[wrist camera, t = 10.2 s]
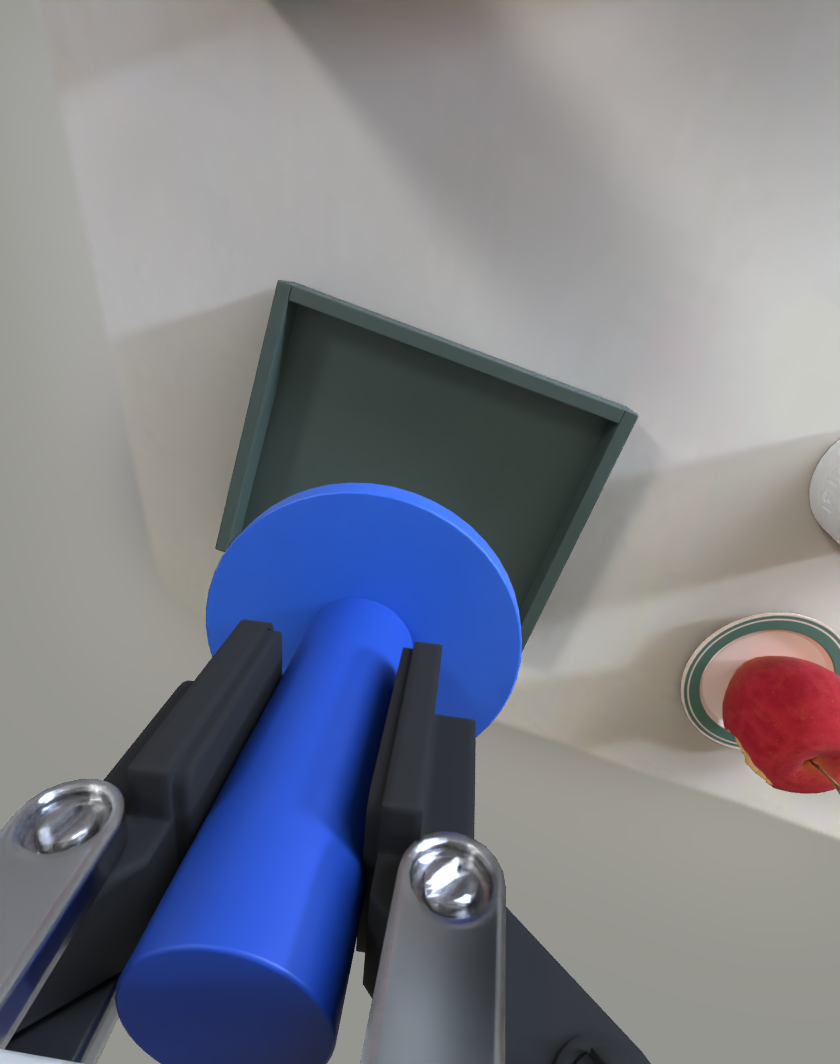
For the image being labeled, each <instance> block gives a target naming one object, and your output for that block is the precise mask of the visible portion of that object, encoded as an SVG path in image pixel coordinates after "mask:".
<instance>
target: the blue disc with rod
mask: <svg viewBox="0 0 840 1064" xmlns="http://www.w3.org/2000/svg"><path fill="white" fill-rule="evenodd" d="M244 619H246V620H253V621H261V622H269V623H272V624H273V628H274V631H280V632H281V633H282V677H281V679H280V681H279V683H278V685H277V687H276V689H275V690H274V692H273V694H272V696H271V698H270V700H269V702H268V703H267V705H266V707H265V709H264V711H263V713H262V714H261V716H260V718H259V720H258V722H257V724H256V726H255V727H254V729H253V731H252V733H251V735H250V737H249V738H248V740H247V742H246V744H245V746H244V748H243V750H242V751H241V753H240V755H239V757H238V759H237V761H236V763H235V764H234V766H233V768H232V770H231V772H230V774H229V775H228V777H227V779H226V781H225V783H224V785H223V787H222V788H221V790H220V792H219V794H218V796H217V798H216V799H215V801H214V803H213V805H212V807H211V809H210V811H209V812H208V814H207V816H206V818H205V820H204V822H203V823H202V825H201V827H200V829H199V831H198V833H197V835H196V836H195V838H194V840H193V842H192V844H191V846H190V848H189V849H188V851H187V853H186V855H185V857H184V859H183V860H182V862H181V864H180V866H179V868H178V870H177V872H176V873H175V875H174V877H173V879H172V881H171V883H170V884H169V886H168V888H167V890H166V892H165V894H164V896H163V897H162V899H161V901H160V903H159V905H158V907H157V909H156V910H155V912H154V914H153V916H152V918H151V920H150V921H149V923H148V925H147V927H146V929H145V931H144V933H143V934H142V936H141V938H140V940H139V942H138V944H137V945H136V947H135V949H134V951H133V953H132V955H131V957H130V958H129V960H128V962H127V964H126V966H125V968H124V970H123V971H122V973H121V975H120V977H119V980H118V983H117V987H116V995H115V1001H116V1009H117V1012H118V1016H119V1018H120V1020H121V1023H122V1025H123V1026H124V1028H125V1029H126V1031H127V1033H128V1034H129V1035H130V1037H131V1038H132V1039H133V1040H134V1041H135V1043H136V1044H137V1045H138V1046H139V1047H141V1048H142V1049H143V1050H144V1051H145V1052H146V1053H147V1054H148V1055H150V1056H151V1057H152V1058H154V1059H155V1060H156V1061H158V1062H159V1063H161V1064H327V1063H328V1061H329V1059H330V1058H331V1056H332V1053H333V1051H334V1048H335V1044H336V1039H337V1035H338V1029H339V1024H340V1019H341V1014H342V1009H343V1004H344V999H345V994H346V989H347V984H348V979H349V974H350V969H351V964H352V959H353V953H354V948H355V943H356V938H357V933H358V928H359V923H360V918H361V913H362V908H363V903H364V898H365V892H366V879H365V874H364V870H363V867H362V863H363V849H364V835H365V821H366V812H367V804H368V798H369V792H370V787H371V783H372V778H373V774H374V770H375V765H376V761H377V757H378V753H379V748H380V744H381V740H382V735H383V731H384V727H385V722H386V718H387V714H388V710H389V705H390V701H391V697H392V692H393V688H394V684H395V679H396V675H397V671H398V667H399V662H400V658H401V654H402V650H403V647H404V648H411V649H413V648H414V644H415V641H416V642H424V643H431V644H439V645H443V646H442V655H441V663H440V672H439V681H438V689H437V698H436V707H435V714H437V715H445V716H452V717H459V718H466V719H474V720H475V722H476V737H477V736H478V735H479V734H480V733H482V731H484V730H485V729H486V728H487V727H488V726H489V725H490V724H491V723H492V721H493V720H494V719H495V718H496V716H497V715H498V714H499V713H500V711H501V710H502V708H503V706H504V705H505V703H506V701H507V700H508V698H509V696H510V694H511V692H512V689H513V687H514V684H515V682H516V679H517V675H518V671H519V667H520V662H521V651H522V636H521V623H520V615H519V609H518V605H517V600H516V596H515V592H514V590H513V587H512V585H511V582H510V579H509V577H508V574H507V573H506V571H505V569H504V567H503V566H502V564H501V562H500V560H499V558H498V557H497V556H496V554H495V553H494V552H493V550H492V549H491V548H490V546H489V545H488V544H487V542H486V541H485V540H484V539H483V538H482V537H481V536H480V535H479V534H478V533H477V532H476V531H475V530H474V529H473V528H472V527H471V526H470V525H469V524H467V523H466V522H465V521H463V520H462V519H461V518H460V517H458V516H457V515H456V514H455V513H453V512H451V511H450V510H448V509H446V508H445V507H443V506H441V505H439V504H438V503H436V502H434V501H432V500H430V499H427V498H425V497H423V496H420V495H418V494H416V493H413V492H409V491H406V490H403V489H399V488H396V487H392V486H385V485H379V484H373V483H340V484H329V485H325V486H320V487H316V488H312V489H308V490H305V491H302V492H300V493H297V494H295V495H292V496H289V497H287V498H286V499H284V500H282V501H280V502H278V503H277V504H275V505H273V506H271V507H270V508H269V509H267V510H266V511H265V512H264V513H262V514H261V515H260V516H258V517H257V518H256V519H255V520H254V521H253V522H252V523H250V524H249V525H248V526H247V527H246V528H245V529H244V530H243V531H242V532H241V533H240V534H239V535H238V536H237V537H236V539H235V540H234V541H233V542H232V543H231V545H230V546H229V548H228V549H227V550H226V552H225V553H224V555H223V556H222V558H221V560H220V562H219V564H218V566H217V568H216V570H215V572H214V575H213V578H212V582H211V585H210V588H209V593H208V599H207V606H206V629H207V636H208V644H209V647H210V651H211V654H212V657H213V656H214V655H215V653H216V652H217V651H218V649H219V648H220V647H221V646H222V644H223V643H224V642H225V640H226V639H227V638H228V637H229V635H230V634H231V633H232V631H233V630H234V629H235V627H236V626H237V625H238V624H239V622H240V621H241V620H244Z"/></svg>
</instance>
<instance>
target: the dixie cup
mask: <svg viewBox="0 0 840 1064" xmlns="http://www.w3.org/2000/svg"><path fill="white" fill-rule="evenodd" d="M809 502H810V507H811V510H812V513H813V515H814V517H815V519H816V521H817V522H818V524H819V525H820V526H821V527H822V528H823V529H824V530H825V531H826V532H827V533H828V534H829V535H830V536H831V537H832V538H833V539H834V540H835V541H836V542H837V543H838V544H840V439H839V440H838V441H837V442H836V443H835V444H834V445H833V446H832V447H831V448H830V449H829V450H828V451H827V452H826V453H825V454H824V456H823V457H822V459H821V460H820V462H819V463H818V465H817V467H816V469H815V471H814V473H813V476H812V479H811V483H810V489H809Z"/></svg>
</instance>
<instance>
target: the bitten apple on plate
mask: <svg viewBox="0 0 840 1064" xmlns="http://www.w3.org/2000/svg"><path fill="white" fill-rule="evenodd" d="M681 699H682V703H683V707H684V710H685V712H686V714H687V716H688V718H689V719H690V721H691V722H692V724H693V725H694V726H695V727H696V728H697V729H698V730H699V731H700V732H701V733H703V734H704V735H705V736H706V737H708V738H710V739H711V740H713V741H715V742H717V743H720V744H722V745H725V746H728V747H731V748H736V749H741V751H742V753H743V754H744V756H745V763H746V764H747V765H748V766H749V767H750V768H751V769H752V770H753V771H754V772H755V773H756V774H758V775H759V776H760V777H762V778H763V779H765V780H766V783H768V784H769V785H771V786H772V787H773V788H776V789H780V790H784V791H788V792H795V793H821V792H826V791H830V790H834V789H837V791H838V792H839V794H840V636H839V635H838V634H837V633H836V632H835V631H833V630H832V629H831V628H829V627H828V626H826V625H825V624H823V623H821V622H819V621H817V620H815V619H813V618H810V617H807V616H803V615H799V614H793V613H782V612H776V613H764V614H757V615H753V616H749V617H745V618H742V619H739V620H737V621H734V622H732V623H730V624H728V625H726V626H724V627H722V628H721V629H719V630H717V631H716V632H714V633H713V634H712V635H710V636H709V637H708V638H707V639H705V640H704V641H703V642H702V644H701V645H700V646H699V647H698V648H697V649H696V650H695V652H694V653H693V654H692V656H691V657H690V659H689V661H688V662H687V664H686V667H685V669H684V672H683V676H682V680H681Z"/></svg>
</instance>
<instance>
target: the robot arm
mask: <svg viewBox="0 0 840 1064" xmlns="http://www.w3.org/2000/svg"><path fill="white" fill-rule="evenodd" d="M442 646H443V645H439V644H431V643H424V642H416V641H415V644H414V648H413V649H411V648H404V647H403V650H402V654H401V658H400V662H399V667H398V671H397V675H396V679H395V684H394V688H393V692H392V697H391V701H390V705H389V710H388V714H387V718H386V722H385V727H384V731H383V735H382V740H381V744H380V748H379V753H378V757H377V761H376V765H375V770H374V774H373V778H372V783H371V787H370V792H369V798H368V804H367V812H366V821H365V835H364V849H363V863H362V867H363V870H364V874H365V879H366V892H365V898H364V903H363V908H362V913H361V918H360V923H359V928H358V933H357V946H356V951H359V952H365V963H364V976H363V985H364V986H365V988H366V990H367V991H368V993H369V994H370V996H371V997H372V1004H371V1009H370V1014H369V1019H368V1024H367V1030H366V1035H365V1039H364V1045H363V1049H362V1054H361V1060H360V1064H651V1063H650V1062H649V1061H648V1060H647V1058H646V1057H645V1055H644V1054H643V1053H642V1051H641V1050H640V1049H639V1048H638V1047H637V1046H636V1045H635V1044H634V1043H633V1042H632V1041H631V1040H630V1039H629V1038H628V1036H627V1035H626V1034H625V1033H624V1032H623V1031H622V1030H621V1029H620V1028H619V1027H618V1026H617V1025H616V1024H615V1023H614V1022H613V1021H612V1020H611V1018H610V1017H609V1016H608V1015H607V1014H606V1013H605V1012H604V1011H603V1010H602V1009H601V1008H600V1007H599V1006H598V1004H597V1003H596V1002H595V1001H594V1000H593V999H592V998H591V997H590V996H589V995H588V994H587V993H586V992H585V991H584V990H583V989H582V987H581V986H580V985H579V984H578V983H577V982H576V981H575V980H574V979H573V978H572V977H571V976H570V975H569V974H568V972H567V971H566V970H565V969H564V968H563V967H562V966H561V965H560V964H559V963H558V962H557V961H556V960H555V959H554V958H553V956H552V955H550V953H549V952H548V951H547V950H546V949H545V948H544V947H543V946H542V945H541V944H540V943H539V941H537V939H536V938H535V937H534V936H533V935H532V934H531V933H530V932H529V931H528V930H527V929H526V928H525V927H524V926H523V924H522V923H521V922H520V921H519V920H518V919H517V918H516V917H515V916H514V915H513V914H512V913H511V912H510V911H509V910H508V908H507V907H506V886H505V880H504V874H503V871H502V869H501V867H500V865H499V863H498V861H497V859H496V857H495V856H494V855H493V854H492V853H491V852H490V851H489V850H488V849H487V848H486V846H484V845H483V844H481V843H480V842H478V841H476V840H475V839H474V806H475V738H476V722H475V720H474V719H466V718H459V717H452V716H445V715H437V714H435V707H436V698H437V689H438V681H439V672H440V663H441V655H442ZM281 677H282V633H281V632H280V631H274V628H273V624H272V623H269V622H261V621H253V620H246V619H244V620H241V621H240V622H239V624H238V625H237V626H236V627H235V629H234V630H233V631H232V633H231V634H230V635H229V637H228V638H227V639H226V640H225V642H224V643H223V644H222V646H221V647H220V648H219V649H218V651H217V652H216V653H215V655H214V656H213V657H212V659H211V660H210V661H209V662H208V664H207V665H206V667H205V668H204V669H203V670H202V672H201V673H200V674H199V675H198V677H197V678H196V679H195V681H185V682H183V683H182V684H181V685H180V686H179V687H178V688H177V689H176V690H175V692H174V693H173V694H172V695H171V697H170V698H169V699H168V701H167V702H166V703H165V704H164V706H163V707H162V708H161V709H160V710H159V712H158V713H157V714H156V715H155V717H154V718H153V719H152V720H151V722H150V723H149V724H148V725H147V727H146V728H145V729H144V730H143V732H142V733H141V734H140V736H139V737H138V738H137V739H136V741H135V742H134V743H133V744H132V745H131V747H130V748H129V749H128V751H127V752H126V753H125V754H124V755H123V757H122V758H121V759H120V760H119V762H118V763H117V764H116V765H115V767H114V768H113V769H112V770H111V772H110V773H109V774H108V775H107V777H106V778H105V779H104V780H103V781H102V780H98V779H79V780H74V781H69V782H65V783H61V784H59V785H56V786H54V787H51V788H49V789H46V790H44V791H43V792H41V793H39V794H38V795H36V796H35V797H33V798H31V799H30V800H28V801H27V802H26V803H25V804H24V805H23V806H22V807H21V808H20V809H19V810H18V811H17V812H16V813H15V814H14V815H13V816H12V817H11V818H10V819H9V821H8V822H7V823H6V824H5V825H4V826H3V828H2V829H1V830H0V1064H97V1063H98V1060H99V1058H100V1056H101V1054H102V1052H103V1050H104V1048H105V1046H106V1043H107V1041H108V1039H109V1037H110V1035H111V1033H112V1031H113V1029H114V1027H115V1024H116V1022H117V1020H118V1018H119V1016H118V1012H117V1009H116V1001H115V995H116V987H117V983H118V980H119V977H120V975H121V973H122V971H123V970H124V968H125V966H126V964H127V962H128V960H129V958H130V957H131V955H132V953H133V951H134V949H135V947H136V945H137V944H138V942H139V940H140V938H141V936H142V934H143V933H144V931H145V929H146V927H147V925H148V923H149V921H150V920H151V918H152V916H153V914H154V912H155V910H156V909H157V907H158V905H159V903H160V901H161V899H162V897H163V896H164V894H165V892H166V890H167V888H168V886H169V884H170V883H171V881H172V879H173V877H174V875H175V873H176V872H177V870H178V868H179V866H180V864H181V862H182V860H183V859H184V857H185V855H186V853H187V851H188V849H189V848H190V846H191V844H192V842H193V840H194V838H195V836H196V835H197V833H198V831H199V829H200V827H201V825H202V823H203V822H204V820H205V818H206V816H207V814H208V812H209V811H210V809H211V807H212V805H213V803H214V801H215V799H216V798H217V796H218V794H219V792H220V790H221V788H222V787H223V785H224V783H225V781H226V779H227V777H228V775H229V774H230V772H231V770H232V768H233V766H234V764H235V763H236V761H237V759H238V757H239V755H240V753H241V751H242V750H243V748H244V746H245V744H246V742H247V740H248V738H249V737H250V735H251V733H252V731H253V729H254V727H255V726H256V724H257V722H258V720H259V718H260V716H261V714H262V713H263V711H264V709H265V707H266V705H267V703H268V702H269V700H270V698H271V696H272V694H273V692H274V690H275V689H276V687H277V685H278V683H279V681H280V679H281Z"/></svg>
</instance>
